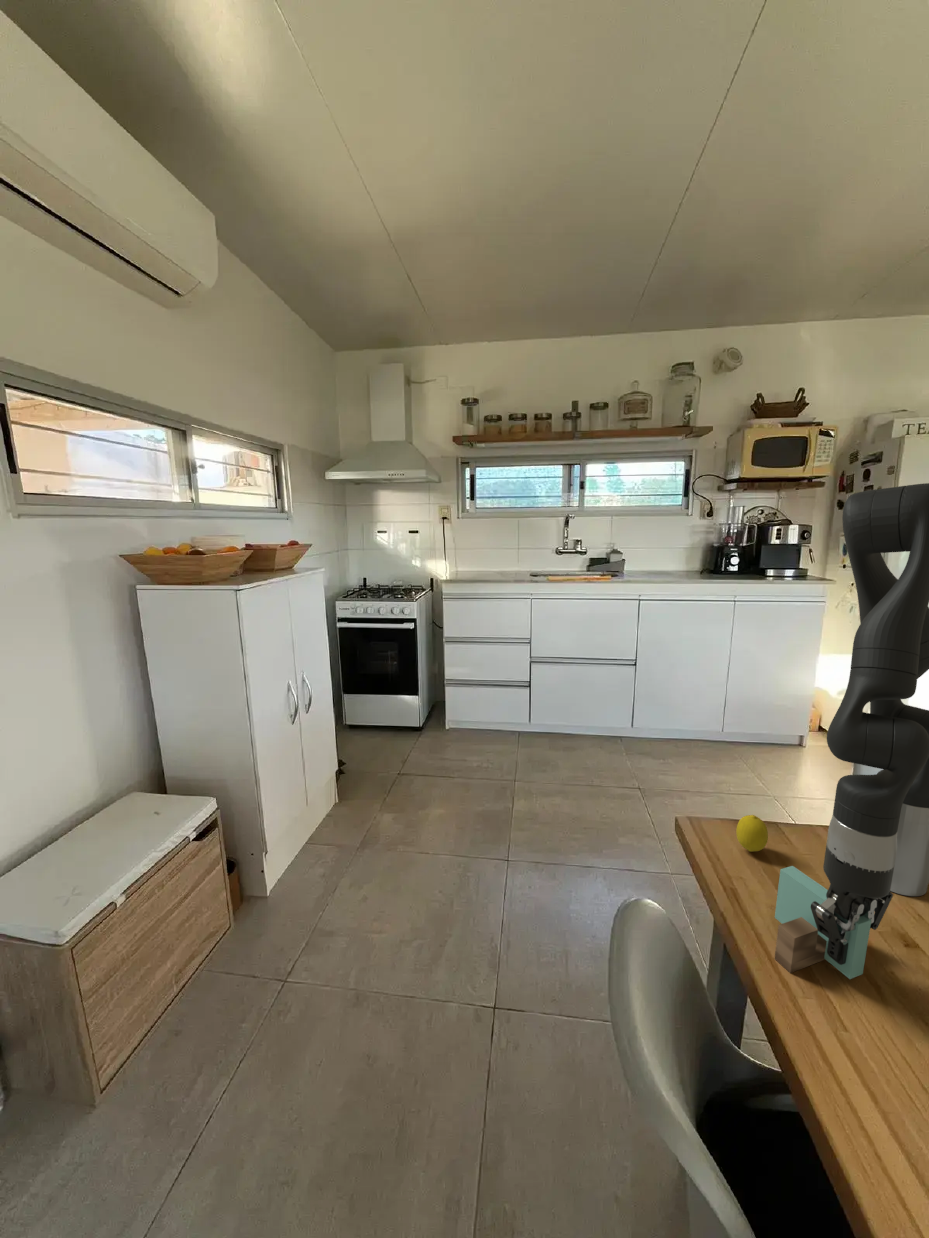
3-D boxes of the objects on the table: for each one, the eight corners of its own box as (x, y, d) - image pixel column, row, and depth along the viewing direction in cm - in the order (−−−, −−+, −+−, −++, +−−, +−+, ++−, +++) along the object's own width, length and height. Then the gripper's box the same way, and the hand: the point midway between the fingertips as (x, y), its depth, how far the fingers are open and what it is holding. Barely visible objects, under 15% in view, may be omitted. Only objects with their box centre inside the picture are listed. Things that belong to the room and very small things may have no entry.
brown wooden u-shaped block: (839, 934, 81) (844, 901, 80) (856, 946, 78) (861, 913, 77) (774, 958, 76) (778, 924, 75) (790, 973, 74) (794, 938, 73)
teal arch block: (774, 917, 82) (780, 869, 81) (786, 913, 83) (792, 865, 81) (849, 979, 71) (858, 924, 69) (862, 973, 72) (871, 919, 70)
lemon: (770, 861, 98) (774, 824, 96) (739, 858, 99) (743, 821, 98) (760, 844, 103) (763, 809, 102) (731, 841, 104) (734, 806, 103)
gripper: (866, 826, 75) (851, 925, 79) (797, 845, 71) (784, 949, 74) (924, 856, 68) (905, 964, 72) (852, 879, 64) (835, 993, 67)
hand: (843, 955), depth 73 cm, fingers closed on teal arch block, 2 cm apart
